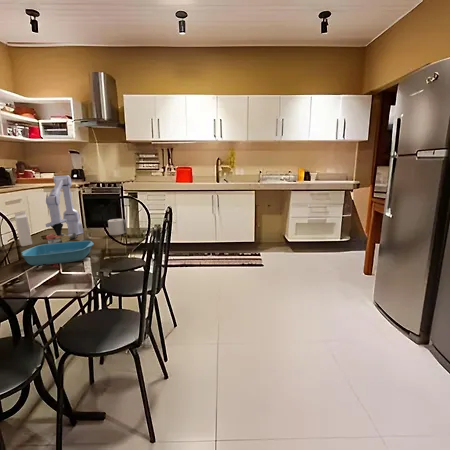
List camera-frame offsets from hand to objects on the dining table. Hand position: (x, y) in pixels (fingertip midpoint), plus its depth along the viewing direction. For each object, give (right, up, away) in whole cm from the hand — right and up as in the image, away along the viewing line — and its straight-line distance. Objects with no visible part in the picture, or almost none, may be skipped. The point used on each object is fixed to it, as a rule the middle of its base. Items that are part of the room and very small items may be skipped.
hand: (58, 235), depth 203 cm
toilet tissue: (+30, 0, +25) cm, 39 cm away
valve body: (-2, -4, +10) cm, 11 cm away
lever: (-4, -2, +5) cm, 7 cm away
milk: (-25, -7, +6) cm, 27 cm away
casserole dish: (+16, -13, -28) cm, 34 cm away
